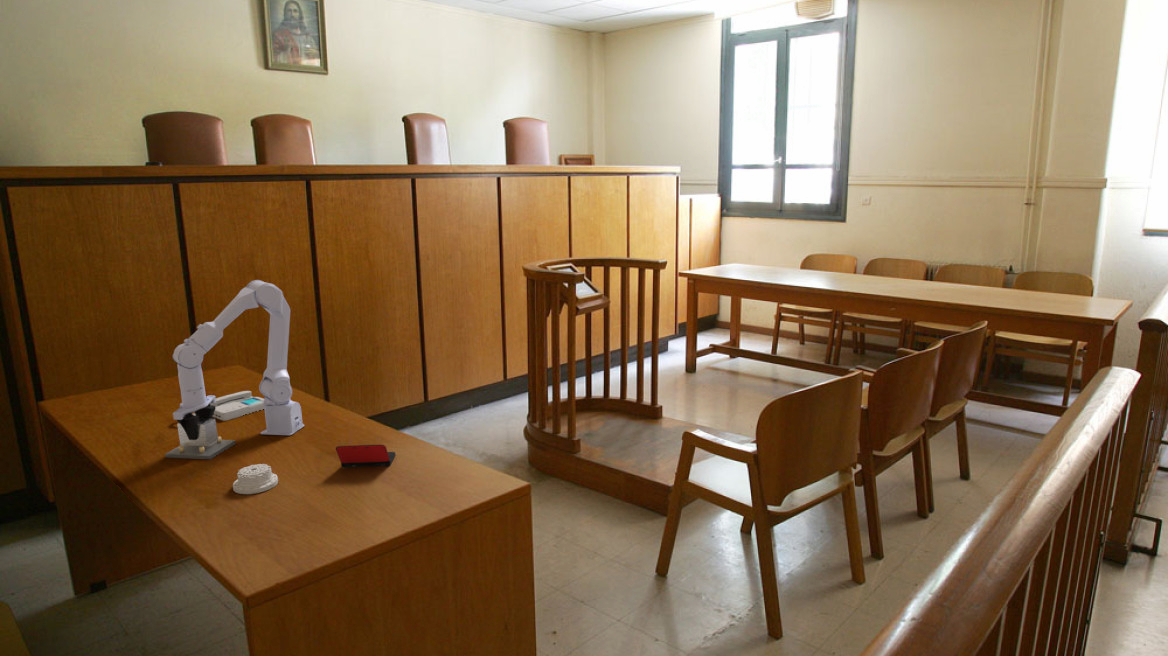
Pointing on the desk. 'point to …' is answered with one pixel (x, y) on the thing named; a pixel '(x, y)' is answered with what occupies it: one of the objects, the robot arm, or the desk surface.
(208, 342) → the robot arm
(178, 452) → the tray
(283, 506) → the desk surface
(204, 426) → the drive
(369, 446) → the handheld game console
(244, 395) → the intercom
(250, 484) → the mechanical component
